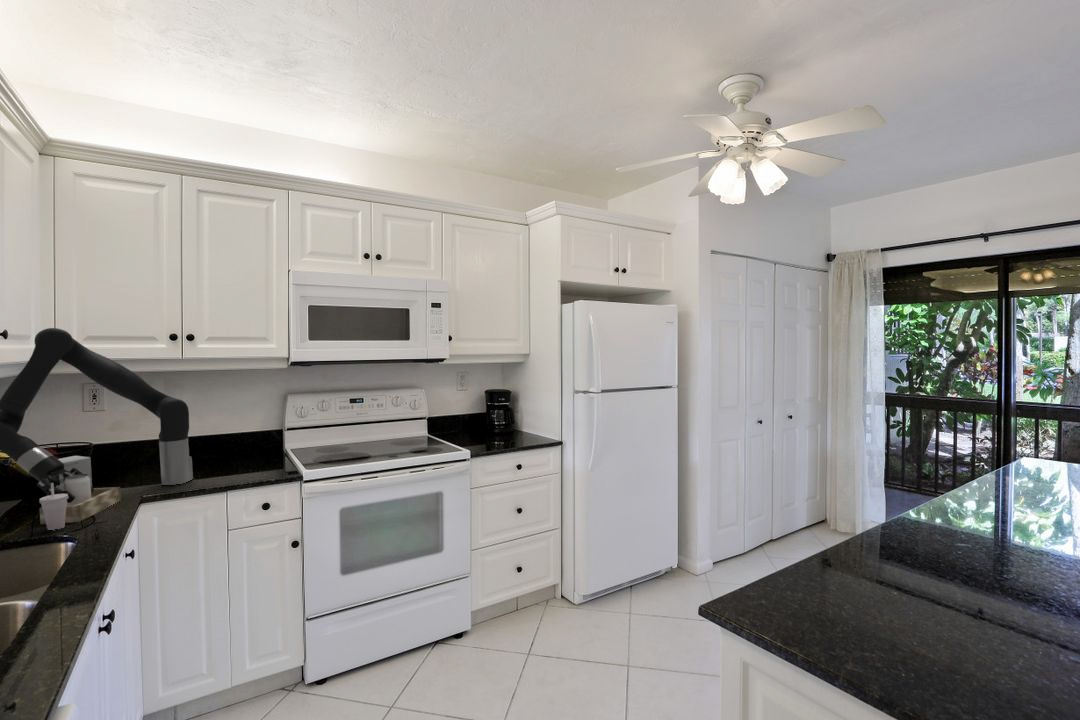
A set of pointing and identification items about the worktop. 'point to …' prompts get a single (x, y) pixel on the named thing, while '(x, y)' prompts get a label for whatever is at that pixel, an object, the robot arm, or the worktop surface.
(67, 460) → the supplement box
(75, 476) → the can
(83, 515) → the crate
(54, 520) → the smoothie
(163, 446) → the robot arm
